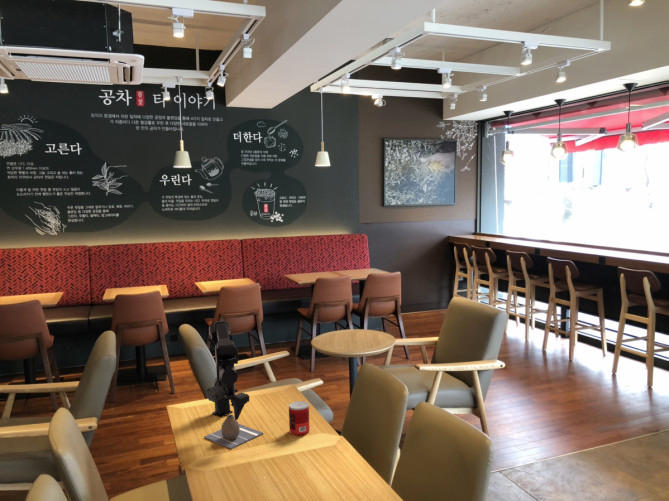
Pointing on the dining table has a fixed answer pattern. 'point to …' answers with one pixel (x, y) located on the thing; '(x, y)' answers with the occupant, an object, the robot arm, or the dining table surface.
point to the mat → (243, 437)
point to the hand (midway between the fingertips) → (228, 416)
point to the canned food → (299, 418)
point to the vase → (230, 428)
